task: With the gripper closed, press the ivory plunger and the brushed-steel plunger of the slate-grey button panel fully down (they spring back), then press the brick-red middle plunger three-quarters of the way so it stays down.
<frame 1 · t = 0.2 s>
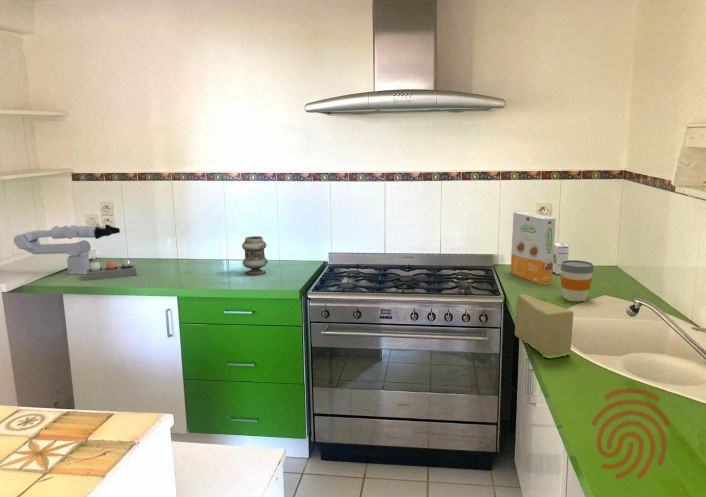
hand: (115, 231, 282), 21 cm above the countertop, tool horizontal, fingers open, 7 cm apart
cheese: (536, 346, 187), on the countertop
reusable coffee cup: (574, 299, 238), on the countertop
steel plunger: (126, 264, 283), point 5 cm above the countertop, slide at 0.0 cm
syrup box: (559, 274, 280), on the countertop
cereal box: (530, 278, 271), on the countertop
apothecary jar: (255, 273, 285), on the countertop
ivory plunger: (95, 267, 278), point 5 cm above the countertop, slide at 0.0 cm
brick-red plunger: (111, 265, 281), point 5 cm above the countertop, slide at 0.0 cm
button panel: (112, 275, 282), on the countertop
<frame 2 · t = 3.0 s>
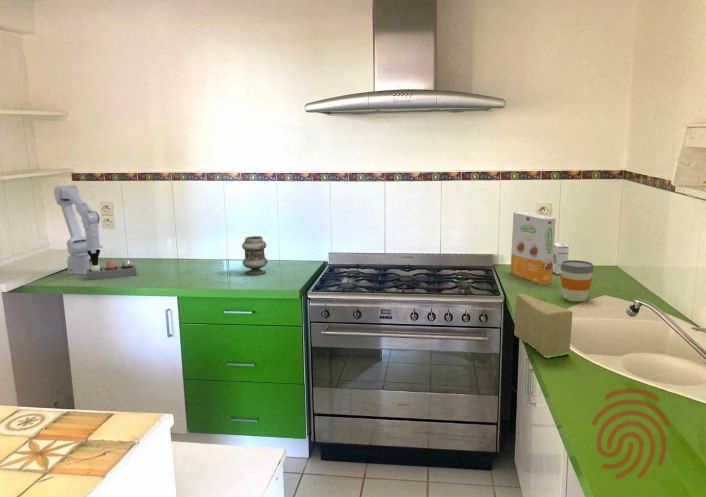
hand: (95, 265, 278), 6 cm above the countertop, tool pointing down, fingers closed, pressing on ivory plunger
ivory plunger: (95, 269, 278), point 4 cm above the countertop, slide at 1.0 cm, touching gripper
everything else where it was.
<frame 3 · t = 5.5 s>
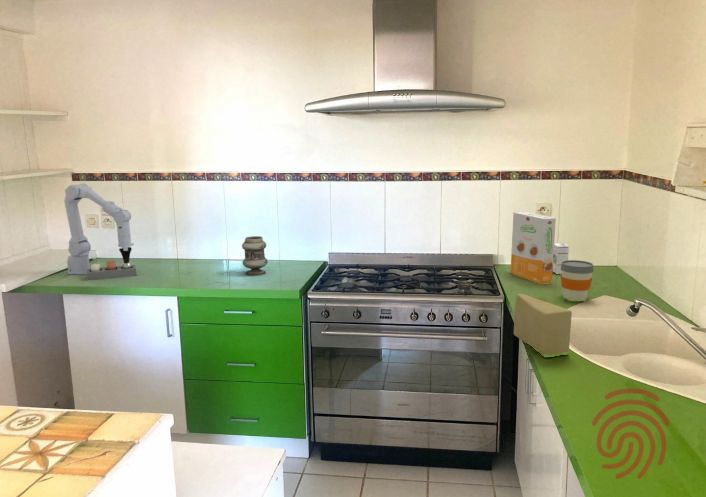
hand: (126, 262, 283), 6 cm above the countertop, tool pointing down, fingers closed, pressing on steel plunger
steel plunger: (126, 266, 283), point 4 cm above the countertop, slide at 1.1 cm, touching gripper
ivory plunger: (95, 268, 278), point 4 cm above the countertop, slide at 0.8 cm
everything else where it was.
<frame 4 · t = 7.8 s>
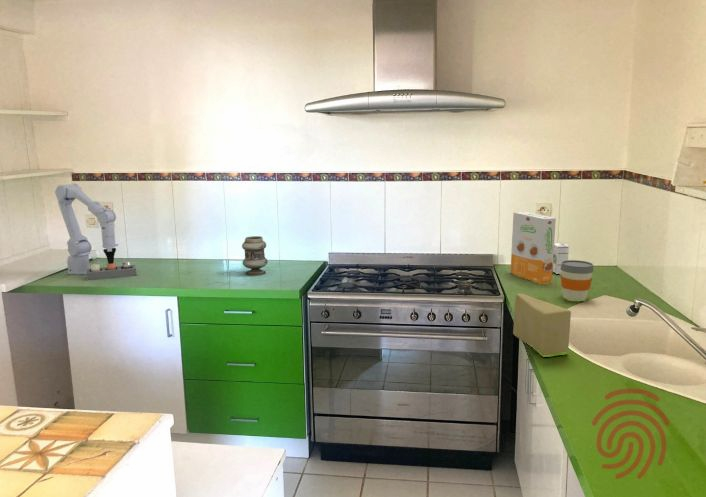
hand: (111, 263, 280), 6 cm above the countertop, tool pointing down, fingers closed, pressing on brick-red plunger
steel plunger: (126, 265, 283), point 4 cm above the countertop, slide at 0.8 cm
brick-red plunger: (111, 267, 281), point 4 cm above the countertop, slide at 0.8 cm, touching gripper
everything else where it was.
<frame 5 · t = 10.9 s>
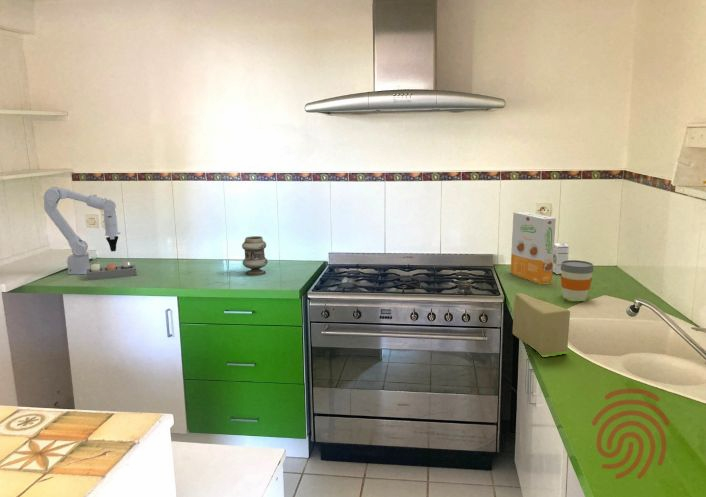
hand: (113, 251, 291), 10 cm above the countertop, tool pointing down, fingers closed
brick-red plunger: (111, 268, 281), point 4 cm above the countertop, slide at 1.5 cm
at the end: brick-red plunger slide at 1.5 cm; ivory plunger slide at 0.8 cm; steel plunger slide at 0.8 cm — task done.
